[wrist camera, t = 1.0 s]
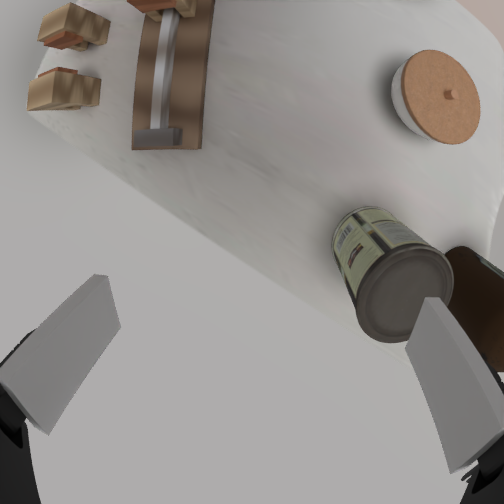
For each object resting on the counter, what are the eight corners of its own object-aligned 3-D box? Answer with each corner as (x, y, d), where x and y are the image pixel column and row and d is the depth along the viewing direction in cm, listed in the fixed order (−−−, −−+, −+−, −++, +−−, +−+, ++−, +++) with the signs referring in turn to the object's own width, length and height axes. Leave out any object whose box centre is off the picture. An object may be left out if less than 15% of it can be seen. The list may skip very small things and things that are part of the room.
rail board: (157, -14, 22) (144, -27, 18) (218, -23, 22) (211, -39, 18) (137, 149, 32) (119, 152, 28) (201, 148, 32) (189, 150, 28)
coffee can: (396, 276, 36) (437, 338, 23) (328, 278, 37) (348, 347, 24) (406, 207, 32) (465, 246, 19) (333, 204, 33) (365, 246, 20)
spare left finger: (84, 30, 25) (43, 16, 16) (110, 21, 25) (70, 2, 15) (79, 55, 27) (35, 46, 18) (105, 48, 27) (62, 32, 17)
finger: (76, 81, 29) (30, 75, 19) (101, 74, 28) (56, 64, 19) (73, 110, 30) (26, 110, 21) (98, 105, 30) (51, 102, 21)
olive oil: (449, 311, 37) (518, 421, 14) (417, 282, 36) (501, 411, 13) (486, 264, 33) (575, 355, 10) (459, 228, 32) (575, 323, 9)
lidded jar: (374, 127, 29) (405, 125, 20) (382, 52, 24) (412, 29, 16) (442, 151, 28) (484, 159, 20) (449, 81, 24) (490, 72, 15)
